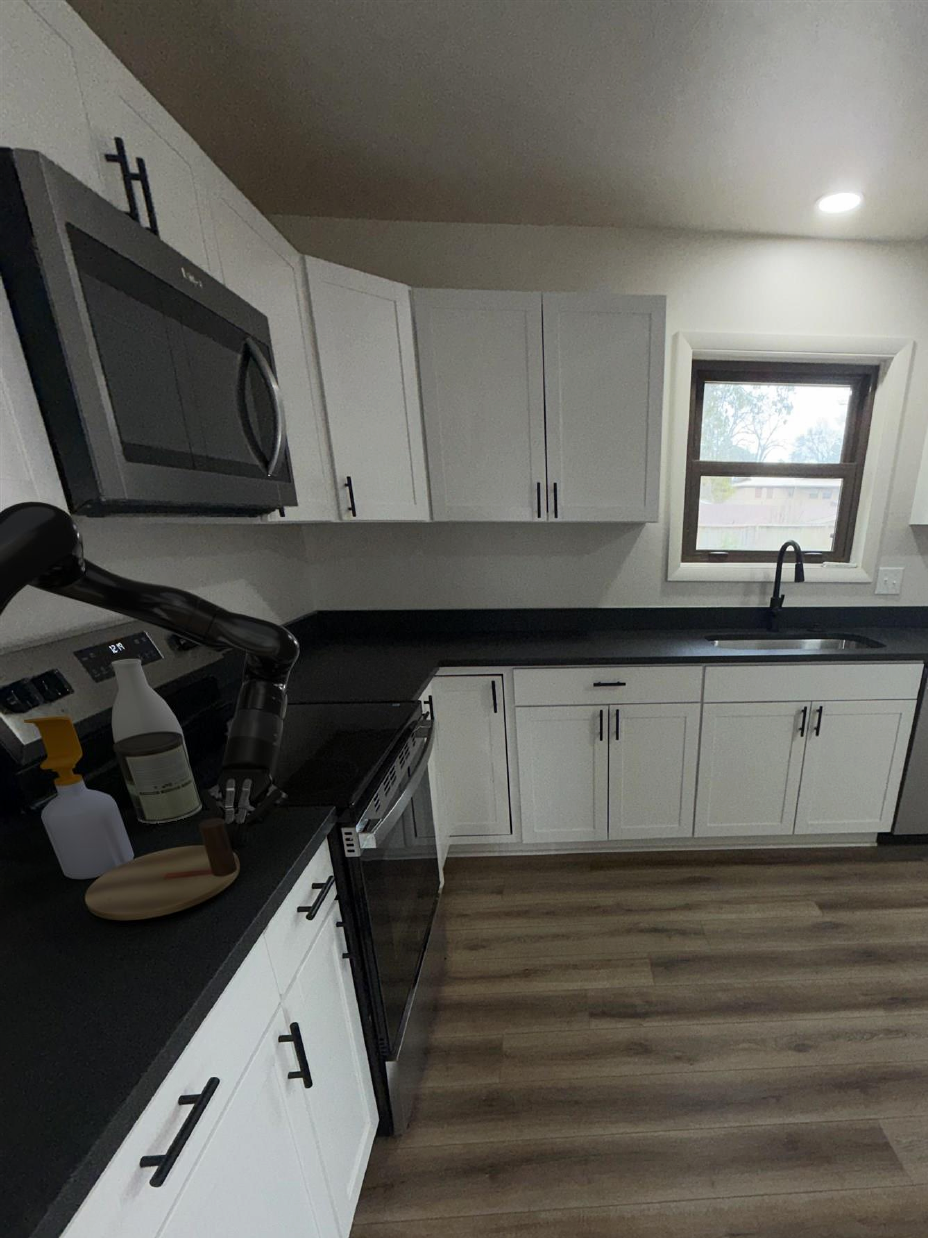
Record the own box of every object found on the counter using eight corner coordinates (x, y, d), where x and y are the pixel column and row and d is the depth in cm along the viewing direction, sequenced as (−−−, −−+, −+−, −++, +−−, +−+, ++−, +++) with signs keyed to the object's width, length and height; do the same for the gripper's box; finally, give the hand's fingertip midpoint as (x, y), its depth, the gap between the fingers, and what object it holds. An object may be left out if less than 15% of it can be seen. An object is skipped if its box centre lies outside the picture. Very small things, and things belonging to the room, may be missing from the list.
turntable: (93, 871, 96) (73, 817, 93) (235, 840, 105) (221, 790, 102) (79, 937, 82) (55, 876, 78) (245, 894, 91) (230, 838, 87)
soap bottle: (56, 886, 95) (-9, 728, 85) (73, 858, 103) (15, 710, 92) (128, 873, 98) (73, 720, 88) (139, 847, 106) (90, 703, 96)
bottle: (156, 803, 122) (114, 670, 111) (118, 793, 126) (74, 664, 115) (209, 781, 131) (175, 657, 120) (172, 773, 135) (136, 652, 124)
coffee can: (122, 822, 114) (97, 748, 108) (169, 798, 123) (147, 729, 117) (172, 827, 112) (148, 752, 106) (215, 803, 121) (195, 732, 116)
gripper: (306, 753, 105) (289, 856, 99) (226, 753, 105) (204, 856, 99) (284, 734, 98) (264, 843, 92) (198, 734, 98) (173, 843, 92)
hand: (233, 850), depth 96 cm, fingers closed
